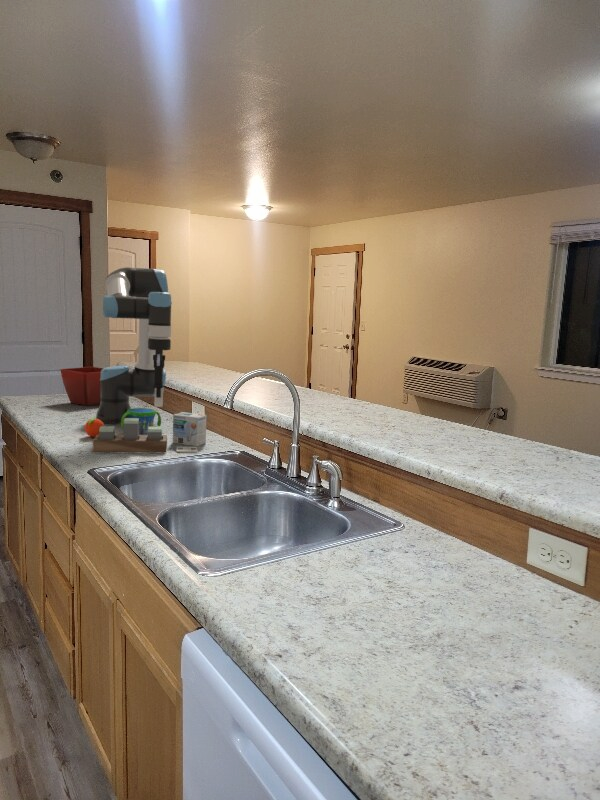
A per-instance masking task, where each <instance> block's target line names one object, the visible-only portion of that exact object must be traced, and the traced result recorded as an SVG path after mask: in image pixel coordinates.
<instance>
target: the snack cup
mask: <svg viewBox="0 0 600 800" xmlns="http://www.w3.org/2000/svg"><path fill="white" fill-rule="evenodd" d="M127 415H128V418H139V435H148V427H154V422H155V421H154V419H155V417H156V415H157V417H158V419H157V423H156V425H157V427H161V426H162V425H161V424H162V419H161V418H162V416H161V414H160V413H159V412H158V411H156V409H153V408H149V407H148V408H146V407H137V408H135V407H134V408H131V409H128V410H127V412H126V413H124V415H123V416H122V419H121V423H120V426H121V429H122V430H124V419H125V417H126V416H127Z"/></svg>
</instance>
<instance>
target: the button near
mask: <svg viewBox="0 0 600 800" xmlns="http://www.w3.org/2000/svg"><path fill="white" fill-rule="evenodd" d="M115 435H116V426H111V425H109V426H107V425H104V426H101V427H100V429H99V439H115Z"/></svg>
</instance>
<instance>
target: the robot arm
mask: <svg viewBox="0 0 600 800" xmlns="http://www.w3.org/2000/svg"><path fill="white" fill-rule="evenodd" d="M166 274H167V273H166V272H165V271H164V270H162V269H156V268H143V267H142V268H141V267H130V266H129V267H120V268H117V269H116V270H112V272H110V273H109V274H108V275H107V276H106V277H105V280H104V288H105V291H106V293H107V295H104V296H103V297H102V315H103V317H105V318H111V319H134V320H135V319H137V320H138V358H137V359H138V361H137V362H136V363H135V364H134V368H130V366H129V365H113V366H108V367H103V368H104V369H102V370H101V378H100V381H101V402H100V404H99V407H98V409H97V412H96V415H95V419H99V420H101V421H102V422H103V424H121V419H122V416H123V415H124V413H126V412H127V410H128V409H132V407H131V405H130V397H150V398H151V397H154V400H153V401H154V404H153V405H154V406H153V407H154V408H156V407H157V408H159V407H160V408H161V407H162V408H163V403H164V401H163V400H164V398H163V397H164V396H163V395H164V390H165V387H166V380H167V377H166V376H167V371H166V369H164V368H165V360H166V354H164V351H170V350H171V346H172V345H171V344H172V341H171V339H170V338H172V303H173V301H172V294H171V293H170V292H169V284H168V278H167V275H166ZM125 418H128V415H127V416H126V417H125Z"/></svg>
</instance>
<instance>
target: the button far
mask: <svg viewBox="0 0 600 800" xmlns="http://www.w3.org/2000/svg"><path fill="white" fill-rule="evenodd" d="M162 435H163V426H153V427H148V440H162Z"/></svg>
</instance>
